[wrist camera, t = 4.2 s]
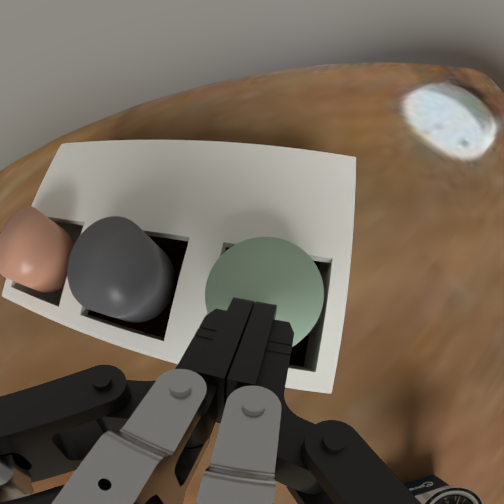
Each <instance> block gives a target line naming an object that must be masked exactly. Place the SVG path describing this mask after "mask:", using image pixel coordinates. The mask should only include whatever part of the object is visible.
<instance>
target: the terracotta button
mask: <svg viewBox="0 0 504 504" xmlns="http://www.w3.org/2000/svg"><path fill="white" fill-rule="evenodd" d="M74 244H75V241H74V238H73V237H72V235H71V234H70V233H69V232H67V231H66V230H65V229H63V228H62V227H60V226H59V225H58V224H56V223H55V222H53V221H52V220H51V219H49V218H48V217H46V216H45V215H44V214H42V213H41V212H40V211H38V210H37V209H36V208H34V207H31V206H26V207H23V208H21V209H19V210H18V211H16V212H15V213H14V214H13V215H12V216H11V217H10V218H9V220H8V221H7V223H6V224H5V226H4V228H3V230H2V232H1V234H0V274H1V275H2V276H3V277H5V278H7V279H10V280H12V281H14V282H17V283H19V284H22V285H24V286H27V287H29V288H32V289H34V290H37V291H39V292H42V293H45V294H50V293H54V292H56V291H58V290H59V289H61V288H62V287H63V286H64V285H65V281H66V278H67V268H68V261H69V257H70V253H71V251H72V248H73V246H74Z"/></svg>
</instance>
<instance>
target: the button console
mask: <svg viewBox="0 0 504 504" xmlns="http://www.w3.org/2000/svg"><path fill="white" fill-rule="evenodd" d="M355 180H356V157H351V156H345V155H339V154H333V153H326V152H319V151H312V150H305V149H297V148H288V147H279V146H270V145H259V144H248V143H235V142H219V141H198V140H112V141H91V142H76V143H64V144H61V146H60V148H59V150H58V151H57V153H56V155H55V157H54V159H53V161H52V163H51V165H50V167H49V169H48V171H47V173H46V175H45V177H44V179H43V181H42V183H41V185H40V188H39V190H38V192H37V194H36V197H35V199H34V201H33V203H32V206H31V207H34V208H36V209H37V210H38V211H40V212H41V213H42V214H44V215H45V216H46V217H48V218H49V219H51V220H52V221H53V222H55V223H56V224H58V225H59V226H60V227H62V228H63V229H65V230H66V231H67V232H69V233H70V234H71V235H72V237H73V238H74V241H75V242H76V241H77V239H78V238H79V236H80V235H81V234H82V233H83V232H84V231H85V229H87V228H88V227H89V226H90V225H92V224H93V223H94V222H96V221H98V220H100V219H103V218H106V217H112V216H120V217H124V218H127V219H129V220H131V221H133V222H134V223H135V224H136V225H138V226H139V227H140V228H141V229H142V230H143V231H144V232H145V233H146V234H147V235H149V236H156V237H162V238H169V239H175V240H182V241H189V242H188V246H187V249H186V253H185V257H184V260H183V264H182V268H181V272H180V276H179V280H178V284H177V287H176V291H175V296H174V300H173V304H172V308H171V312H170V316H169V321H168V325H167V329H166V334H165V338H163V337H160V336H156V335H152V334H149V333H145V332H142V331H139V330H135V329H132V328H128V327H125V326H122V325H119V324H116V323H112V322H109V321H106V320H103V319H100V318H97V317H94V316H91V315H88V311H89V309H87V308H85V307H84V306H82V305H81V304H80V303H79V302H78V301H77V300H76V299H75V298H74V296H73V294H72V292H71V290H70V287H69V283H68V277H67V278H66V281H65V285H64V286H63V287H62V288H61V289H59V290H58V291H56V292H54V293H50V294H45V293H42V292H39V291H37V290H34V289H32V288H29V287H27V286H24V285H22V284H19V283H17V282H14V281H12V280H10V279H7V278H6V281H5V285H4V289H3V293H2V296H3V297H5V298H6V299H8V300H10V301H12V302H14V303H16V304H18V305H21V306H23V307H25V308H27V309H29V310H31V311H33V312H35V313H37V314H40V315H42V316H44V317H46V318H49V319H51V320H53V321H56V322H58V323H60V324H63V325H65V326H67V327H70V328H72V329H75V330H77V331H80V332H82V333H85V334H88V335H90V336H93V337H95V338H98V339H101V340H104V341H106V342H109V343H112V344H115V345H118V346H121V347H124V348H127V349H130V350H133V351H136V352H139V353H142V354H145V355H148V356H152V357H155V358H158V359H162V360H165V361H169V362H172V363H176V364H179V362H180V360H181V358H182V356H183V355H184V353H185V351H186V349H187V348H188V346H189V344H190V342H191V340H192V339H193V337H194V336H195V333H196V331H197V330H198V329H199V326H200V324H201V323H202V321H203V319H204V317H205V316H206V315H208V313H207V309H206V304H205V288H206V282H207V279H208V276H209V273H210V271H211V269H212V267H213V266H214V264H215V262H216V261H217V260H218V259H219V257H220V256H221V255H222V254H223V253H224V252H225V249H226V247H228V248H231V247H232V246H234V245H235V244H237V243H239V242H242V241H244V240H247V239H251V238H256V237H275V238H280V239H284V240H287V241H289V242H291V243H293V244H295V245H297V246H298V247H300V248H301V249H302V250H304V251H305V252H306V253H307V254H308V255H309V256H310V257H311V258H312V260H314V261H320V266H319V272H320V275H321V277H322V281H323V286H324V301H323V306H322V311H321V313H320V316H319V318H318V320H317V322H316V324H315V325H314V327H313V328H312V330H311V331H310V333H309V338H308V344H307V350H306V355H305V361H304V366H296V365H290V364H289V368H288V373H287V379H286V384H285V387H286V388H292V389H299V390H306V391H314V392H321V393H330V394H331V393H332V388H333V383H334V377H335V372H336V367H337V361H338V355H339V349H340V343H341V336H342V330H343V323H344V315H345V308H346V300H347V291H348V282H349V273H350V263H351V251H352V239H353V224H354V206H355Z"/></svg>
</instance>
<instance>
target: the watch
mask: <svg viewBox="0 0 504 504" xmlns="http://www.w3.org/2000/svg"><path fill="white" fill-rule="evenodd" d="M404 485H405V486H406V487H407V489H408V490H409V491H410V492H411V493H412V494H413V495H414V496H415V497H416V498H417V499H418V500H419V501H420V502H421V503H422V504H483V502H482V500H481V499H480V497H479V496H478V495H477V494H476V493H475V492H473V491H471V490H470V489H466V488H463V487H456V486H454V485H453V486H449V485H448V484H447V483H445V482H444V481H442V480H441V479H439V478H438V477H436V476H435V475H432V476H429V477H425V478H422V479H419V480H415V481H412V482H408V483H405V484H404Z"/></svg>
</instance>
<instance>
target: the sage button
mask: <svg viewBox="0 0 504 504" xmlns="http://www.w3.org/2000/svg"><path fill="white" fill-rule="evenodd" d="M233 297H235V298H241V299H246V300H252V301H255V302H256V301H258V302H263V303H269V304H275V305H277V311H276V318H275V320H280V321H286V322H290V324H291V327H292V329H293V331H294V338H293V344H292V347H293V346H295V345H296V344H297V343H299V342H300V341H301V340H302V339H303V338H304V337H305V336H306V335H307V334H308V333H309V332H310V331H311V330H312V328H313V327H314V325H315V324H316V322H317V320H318V318H319V316H320V313H321V311H322V306H323V301H324V286H323V281H322V277H321V275H320V272H319V270H318V268H317V266H316V264H315V263H314V261H313V260H312V258H311V257H310V256H309V255H308V254H307V253H306V252H305V251H304V250H302V249H301V248H300V247H298V246H297V245H295V244H293V243H291V242H289V241H287V240H284V239H280V238H275V237H256V238H251V239H247V240H244V241H242V242H239V243H237V244H235V245H234V246H232V247H231V248H229V249H228V250H227V251H225V252H224V253H223V254H222V255H221V256H220V257H219V259H218V260H217V261H216V262H215V264H214V266H213V267H212V269H211V271H210V273H209V276H208V279H207V282H206V288H205V304H206V309H207V313H208V314H209V313H210V312H212V311H213V310H215V309H221V310H226V311H227V309H228V307H229V305H230V303H231V301H232V299H233Z"/></svg>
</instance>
